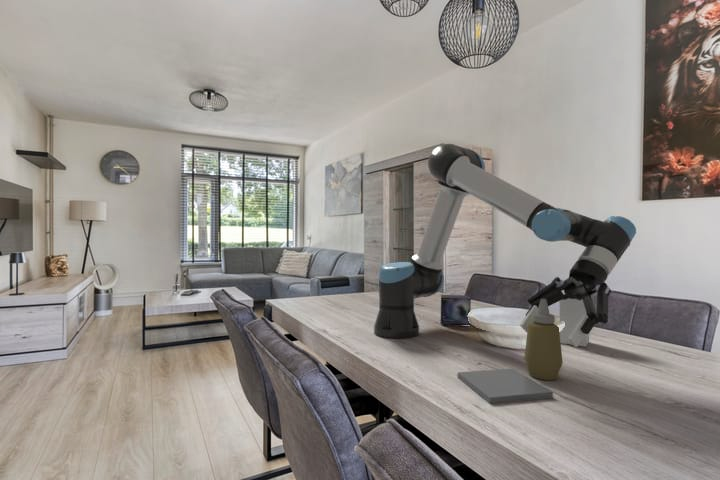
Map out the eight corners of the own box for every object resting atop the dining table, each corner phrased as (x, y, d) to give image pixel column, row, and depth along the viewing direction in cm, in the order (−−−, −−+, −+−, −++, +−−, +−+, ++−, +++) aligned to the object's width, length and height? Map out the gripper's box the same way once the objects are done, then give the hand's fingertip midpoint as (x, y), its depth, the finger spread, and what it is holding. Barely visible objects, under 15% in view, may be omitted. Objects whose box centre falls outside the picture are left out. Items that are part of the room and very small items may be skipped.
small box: (440, 325, 140) (441, 297, 140) (440, 321, 146) (440, 294, 146) (471, 327, 138) (471, 297, 138) (468, 322, 145) (469, 295, 145)
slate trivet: (457, 377, 89) (457, 372, 89) (512, 373, 92) (512, 368, 91) (489, 403, 75) (489, 397, 75) (552, 397, 78) (552, 391, 78)
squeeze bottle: (532, 367, 95) (532, 295, 95) (567, 376, 90) (568, 299, 89) (518, 376, 90) (518, 299, 90) (555, 385, 84) (555, 303, 84)
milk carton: (585, 347, 113) (586, 282, 113) (559, 343, 117) (559, 281, 117) (589, 342, 118) (589, 280, 118) (563, 338, 123) (563, 279, 123)
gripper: (653, 284, 84) (606, 361, 79) (557, 274, 107) (515, 333, 102) (638, 261, 82) (587, 338, 77) (542, 255, 105) (499, 314, 100)
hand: (546, 335), depth 89 cm, fingers open, 13 cm apart
